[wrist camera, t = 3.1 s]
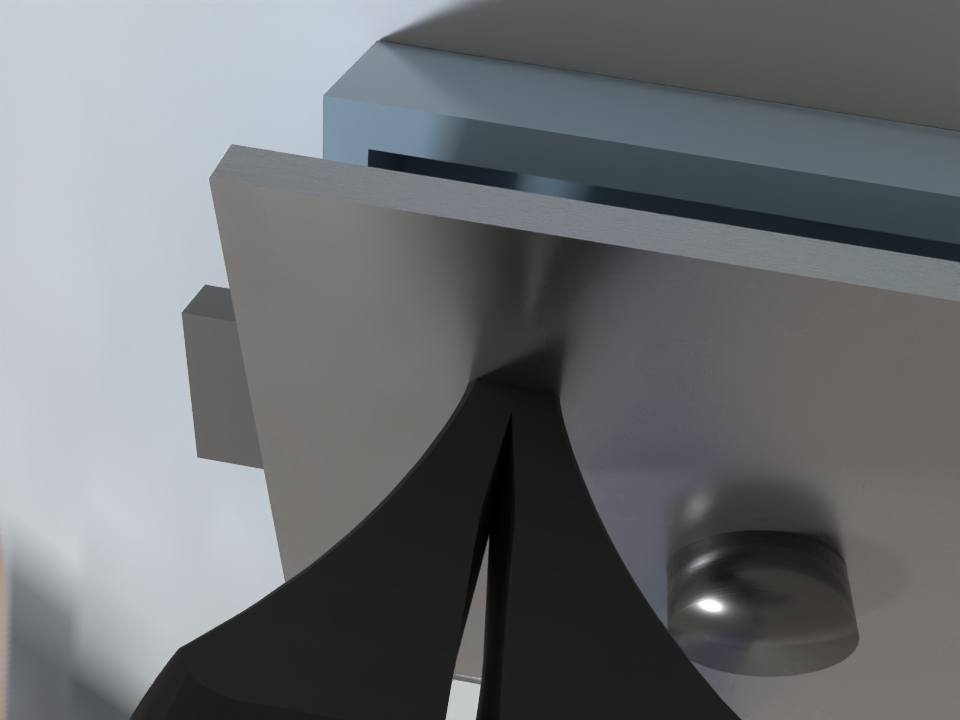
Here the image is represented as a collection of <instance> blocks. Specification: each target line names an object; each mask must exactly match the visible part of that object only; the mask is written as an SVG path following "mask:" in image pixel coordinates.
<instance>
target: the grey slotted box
mask: <svg viewBox="0 0 960 720" xmlns="http://www.w3.org/2000/svg"><path fill="white" fill-rule="evenodd" d="M323 159H325V160H331V161H337V162H343V163H350V164H356V165H362V166H368V167H374V168H380V169H387V170H393V171H399V172H405V173H411V174H417V175H424V176H430V177H436V178H442V179H448V180H454V181H461V182H467V183H473V184H479V185H485V186H491V187H498V188H504V189H510V190H516V191H522V192H528V193H535V194H541V195H547V196H553V197H559V198H566V199H572V200H578V201H584V202H590V203H596V204H603V205H609V206H615V207H621V208H627V209H633V210H640V211H646V212H652V213H658V214H664V215H670V216H677V217H683V218H689V219H695V220H701V221H707V222H714V223H720V224H726V225H732V226H738V227H744V228H751V229H757V230H763V231H769V232H775V233H781V234H788V235H794V236H800V237H806V238H812V239H819V240H825V241H831V242H837V243H843V244H849V245H856V246H862V247H868V248H874V249H880V250H886V251H893V252H899V253H905V254H911V255H917V256H923V257H930V258H936V259H942V260H948V261H954V262H960V132H959V131H953V130H946V129H940V128H933V127H927V126H921V125H914V124H908V123H901V122H895V121H889V120H882V119H876V118H870V117H863V116H857V115H850V114H844V113H838V112H831V111H825V110H818V109H812V108H806V107H799V106H793V105H787V104H780V103H774V102H767V101H761V100H755V99H748V98H742V97H735V96H729V95H723V94H716V93H710V92H704V91H697V90H691V89H684V88H678V87H672V86H665V85H659V84H652V83H646V82H640V81H633V80H627V79H620V78H614V77H608V76H601V75H595V74H589V73H582V72H576V71H569V70H563V69H557V68H550V67H544V66H537V65H531V64H525V63H518V62H512V61H506V60H499V59H493V58H486V57H480V56H474V55H467V54H461V53H454V52H448V51H442V50H435V49H429V48H423V47H416V46H410V45H403V44H397V43H391V42H384V41H377V42H376V43H375V44H374V45H373V46H372V47H371V48H370V49H369V50H368V51H367V52H366V53H365V54H364V55H363V56H362V57H361V58H360V59H359V60H358V61H357V62H356V63H355V64H354V65H353V66H352V67H351V68H350V69H349V70H348V71H347V72H346V73H345V74H344V75H343V76H342V77H341V78H340V79H339V80H338V81H337V82H336V83H335V84H334V85H333V86H332V87H331V88H330V89H329V90H328V91H327V92H326V93H325V94H324V95H323ZM182 320H183V329H184V338H185V347H186V356H187V365H188V375H189V384H190V393H191V402H192V411H193V420H194V430H195V439H196V448H197V457H198V458H204V459H210V460H216V461H221V462H227V463H233V464H238V465H244V466H250V467H255V468H261V469H264V467H263V462H262V456H261V451H260V446H259V440H258V435H257V430H256V425H255V419H254V414H253V409H252V403H251V398H250V393H249V387H248V382H247V377H246V372H245V366H244V361H243V356H242V350H241V345H240V340H239V334H238V329H237V324H236V319H235V313H234V308H233V303H232V297H231V292H230V289H227V288H221V287H215V286H209V285H205V286H204V287H203V288H202V289H201V290H200V292H199V293H198V294H197V295H196V296H195V298H194V299H193V300H192V301H191V302H190V304H189V305H188V306H187V307H186V308H185V309H184V311H183V312H182Z"/></svg>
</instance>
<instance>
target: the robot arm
mask: <svg viewBox="0 0 960 720" xmlns="http://www.w3.org/2000/svg"><path fill="white" fill-rule="evenodd" d="M488 538H489V548H488V568H487V588H486V608H485V628H484V649H483V666H482V677H481V688H480V696H479V703H478V710H477V717H476V720H741V719H740V718H739V716H738V715H737V714H736V713H735V712H734V711H733V710H732V709H731V708H730V707H729V706H728V705H727V704H726V703H725V702H724V701H723V700H722V699H721V697H720V696H719V695H718V694H717V693H716V691H715V690H714V689H713V688H712V687H711V685H710V684H709V683H708V682H707V681H706V679H705V678H704V677H703V676H702V675H701V673H700V672H699V671H698V670H697V669H696V667H695V666H694V665H693V664H692V662H691V661H690V660H689V658H688V657H687V656H686V654H685V653H684V651H683V650H682V649H681V647H680V646H679V645H678V643H677V642H676V641H675V639H674V638H673V637H672V635H671V634H670V633H669V631H668V630H667V628H666V627H665V626H664V624H663V623H662V622H661V620H660V619H659V618H658V616H657V615H656V614H655V612H654V611H653V609H652V608H651V606H650V604H649V603H648V601H647V600H646V598H645V597H644V595H643V594H642V592H641V590H640V589H639V587H638V586H637V584H636V583H635V581H634V579H633V578H632V576H631V574H630V573H629V571H628V569H627V567H626V566H625V564H624V562H623V561H622V559H621V557H620V555H619V553H618V552H617V550H616V548H615V546H614V544H613V542H612V540H611V538H610V536H609V535H608V533H607V531H606V528H605V526H604V524H603V522H602V520H601V518H600V516H599V514H598V512H597V510H596V507H595V505H594V503H593V501H592V498H591V496H590V494H589V491H588V489H587V486H586V484H585V481H584V479H583V476H582V474H581V471H580V469H579V466H578V464H577V461H576V458H575V455H574V452H573V449H572V446H571V443H570V440H569V437H568V434H567V430H566V426H565V423H564V419H563V415H562V410H561V405H560V398H559V397H558V396H557V395H556V393H555V392H552V391H546V390H540V389H534V388H528V387H522V386H516V385H510V384H504V383H498V382H492V381H486V380H481V379H475V380H473V381H471V382H469V383H468V385H467V388H466V390H465V392H464V394H463V396H462V398H461V400H460V402H459V404H458V405H457V407H456V409H455V410H454V412H453V414H452V415H451V417H450V418H449V420H448V421H447V423H446V424H445V426H444V427H443V429H442V430H441V431H440V433H439V434H438V435H437V437H436V438H435V439H434V441H433V442H432V443H431V445H430V446H429V447H428V449H427V450H426V451H425V453H424V454H423V455H422V457H421V458H420V459H419V460H418V462H417V463H416V464H415V465H414V466H413V467H412V468H411V470H410V471H409V472H408V473H407V474H406V475H405V476H404V478H403V479H402V480H401V481H400V482H399V483H398V484H397V486H396V487H395V488H394V489H393V490H392V491H391V492H390V493H389V494H388V495H387V497H386V498H385V499H384V500H383V501H382V502H381V503H380V504H379V505H378V506H377V507H376V508H375V509H374V510H373V511H372V512H371V513H370V514H369V515H368V516H366V517H365V518H364V519H363V520H362V521H361V522H360V523H359V524H358V525H357V526H356V527H355V528H354V529H353V530H351V531H350V532H349V533H348V534H347V535H346V536H344V537H343V538H342V539H341V540H340V541H339V542H337V543H336V544H335V545H334V546H333V547H331V548H330V549H329V550H328V551H327V552H326V553H324V554H323V555H322V556H321V557H319V558H318V559H317V560H316V561H314V562H313V563H312V564H311V565H309V566H308V567H307V568H305V569H304V570H303V571H301V572H300V573H299V574H297V575H296V576H294V577H293V578H291V579H290V580H288V581H287V582H286V583H284V584H283V585H281V586H280V587H278V588H277V589H276V590H274V591H273V592H271V593H270V594H268V595H267V596H265V597H264V598H263V599H261V600H260V601H258V602H257V603H255V604H254V605H252V606H251V607H249V608H248V609H246V610H244V611H243V612H241V613H240V614H238V615H236V616H234V617H233V618H231V619H229V620H228V621H226V622H224V623H222V624H221V625H219V626H217V627H215V628H214V629H212V630H210V631H209V632H207V633H205V634H203V635H202V636H200V637H198V638H197V639H195V640H193V641H191V642H190V643H188V644H186V645H184V646H182V647H181V648H179V649H178V650H177V652H176V653H175V654H174V655H173V657H172V658H171V659H170V661H169V662H168V663H167V665H166V666H165V667H164V669H163V670H162V671H161V672H160V674H159V675H158V677H157V678H156V679H155V681H154V682H153V684H152V685H151V687H150V688H149V690H148V691H147V693H146V694H145V696H144V697H143V699H142V700H141V701H140V703H139V705H138V706H137V708H136V709H135V711H134V713H133V714H132V716H131V718H130V720H445V719H446V713H447V707H448V701H449V695H450V689H451V684H452V679H453V674H454V670H455V665H456V661H457V656H458V653H459V649H460V645H461V641H462V637H463V633H464V630H465V626H466V622H467V618H468V614H469V611H470V607H471V603H472V599H473V595H474V592H475V588H476V584H477V580H478V576H479V573H480V569H481V565H482V561H483V557H484V554H485V550H486V546H487V542H488Z"/></svg>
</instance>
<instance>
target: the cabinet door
mask: <svg viewBox="0 0 960 720" xmlns="http://www.w3.org/2000/svg"><path fill="white" fill-rule="evenodd" d="M209 181H210V186H211V191H212V197H213V202H214V207H215V213H216V218H217V223H218V229H219V234H220V239H221V244H222V250H223V255H224V260H225V266H226V271H227V276H228V282H229V287H230V292H231V297H232V303H233V308H234V313H235V319H236V324H237V329H238V334H239V340H240V345H241V350H242V356H243V361H244V366H245V372H246V377H247V382H248V387H249V393H250V398H251V403H252V409H253V414H254V419H255V425H256V430H257V435H258V440H259V446H260V451H261V456H262V462H263V467H264V472H265V478H266V483H267V488H268V493H269V499H270V504H271V509H272V515H273V520H274V525H275V531H276V536H277V541H278V546H279V552H280V557H281V562H282V568H283V573H284V578H285V583H286V582H287V581H288V580H290V579H291V578H293V577H294V576H296V575H297V574H299V573H300V572H301V571H303V570H304V569H305V568H307V567H308V566H309V565H311V564H312V563H313V562H314V561H316V560H317V559H318V558H319V557H321V556H322V555H323V554H324V553H326V552H327V551H328V550H329V549H330V548H331V547H333V546H334V545H335V544H336V543H337V542H339V541H340V540H341V539H342V538H343V537H344V536H346V535H347V534H348V533H349V532H350V531H351V530H353V529H354V528H355V527H356V526H357V525H358V524H359V523H360V522H361V521H362V520H363V519H364V518H365V517H366V516H368V515H369V514H370V513H371V512H372V511H373V510H374V509H375V508H376V507H377V506H378V505H379V504H380V503H381V502H382V501H383V500H384V499H385V498H386V497H387V495H388V494H389V493H390V492H391V491H392V490H393V489H394V488H395V487H396V486H397V484H398V483H399V482H400V481H401V480H402V479H403V478H404V476H405V475H406V474H407V473H408V472H409V471H410V470H411V468H412V467H413V466H414V465H415V464H416V463H417V462H418V460H419V459H420V458H421V457H422V455H423V454H424V453H425V451H426V450H427V449H428V447H429V446H430V445H431V443H432V442H433V441H434V439H435V438H436V437H437V435H438V434H439V433H440V431H441V430H442V429H443V427H444V426H445V424H446V423H447V421H448V420H449V418H450V417H451V415H452V414H453V412H454V410H455V409H456V407H457V405H458V404H459V402H460V400H461V398H462V396H463V394H464V392H465V390H466V388H467V385H468V383H469V382H471V381H473V380H475V379H481V380H486V381H492V382H498V383H504V384H510V385H516V386H522V387H528V388H534V389H540V390H546V391H552V392H555V393H556V395H557V396H558V397H559V398H560V405H561V410H562V415H563V419H564V423H565V426H566V430H567V434H568V437H569V440H570V443H571V446H572V449H573V452H574V455H575V458H576V461H577V464H578V466H579V469H580V471H581V474H582V476H583V479H584V481H585V484H586V486H587V489H588V491H589V494H590V496H591V498H592V501H593V503H594V505H595V507H596V510H597V512H598V514H599V516H600V518H601V520H602V522H603V524H604V526H605V528H606V531H607V533H608V535H609V536H610V538H611V540H612V542H613V544H614V546H615V548H616V550H617V552H618V553H619V555H620V557H621V559H622V561H623V562H624V564H625V566H626V567H627V569H628V571H629V573H630V574H631V576H632V578H633V579H634V581H635V583H636V584H637V586H638V587H639V589H640V590H641V592H642V594H643V595H644V597H645V598H646V600H647V601H648V603H649V604H650V606H651V608H652V609H653V611H654V612H655V614H656V615H657V616H658V618H659V619H660V620H661V622H662V623H663V624H664V626H665V627H666V628H667V630H668V631H669V633H670V634H671V635H672V637H673V638H674V639H675V641H676V642H677V643H678V645H679V646H680V647H681V649H682V650H683V651H684V653H685V654H686V656H687V657H688V658H689V660H690V661H691V662H692V664H693V665H694V666H695V667H696V669H697V670H698V671H699V672H700V673H701V675H702V676H703V677H704V678H705V679H706V681H707V682H708V683H709V684H710V685H711V687H712V688H713V689H714V690H715V691H716V693H717V694H718V695H719V696H720V697H721V699H722V700H723V701H724V702H725V703H726V704H727V705H728V706H729V707H730V708H731V709H732V710H733V711H734V712H735V713H736V714H737V715H738V716H739V718H740V719H741V720H960V262H954V261H948V260H942V259H936V258H930V257H923V256H917V255H911V254H905V253H899V252H893V251H886V250H880V249H874V248H868V247H862V246H856V245H849V244H843V243H837V242H831V241H825V240H819V239H812V238H806V237H800V236H794V235H788V234H781V233H775V232H769V231H763V230H757V229H751V228H744V227H738V226H732V225H726V224H720V223H714V222H707V221H701V220H695V219H689V218H683V217H677V216H670V215H664V214H658V213H652V212H646V211H640V210H633V209H627V208H621V207H615V206H609V205H603V204H596V203H590V202H584V201H578V200H572V199H566V198H559V197H553V196H547V195H541V194H535V193H528V192H522V191H516V190H510V189H504V188H498V187H491V186H485V185H479V184H473V183H467V182H461V181H454V180H448V179H442V178H436V177H430V176H424V175H417V174H411V173H405V172H399V171H393V170H387V169H380V168H374V167H368V166H362V165H356V164H350V163H343V162H337V161H331V160H325V159H319V158H313V157H306V156H300V155H294V154H288V153H282V152H275V151H269V150H263V149H257V148H251V147H245V146H238V145H231V146H230V148H229V149H228V151H227V152H226V154H225V155H224V157H223V158H222V160H221V161H220V163H219V164H218V166H217V167H216V169H215V170H214V172H213V173H212V175H211V176H210V178H209ZM488 548H489V538H488V542H487V546H486V550H485V554H484V557H483V561H482V565H481V569H480V573H479V576H478V580H477V584H476V588H475V592H474V595H473V599H472V603H471V607H470V611H469V614H468V618H467V622H466V626H465V630H464V633H463V637H462V641H461V645H460V649H459V653H458V656H457V661H456V665H455V670H454V674H453V679H454V680H459V681H465V682H470V683H476V684H481V677H482V666H483V649H484V628H485V608H486V588H487V568H488Z"/></svg>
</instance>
